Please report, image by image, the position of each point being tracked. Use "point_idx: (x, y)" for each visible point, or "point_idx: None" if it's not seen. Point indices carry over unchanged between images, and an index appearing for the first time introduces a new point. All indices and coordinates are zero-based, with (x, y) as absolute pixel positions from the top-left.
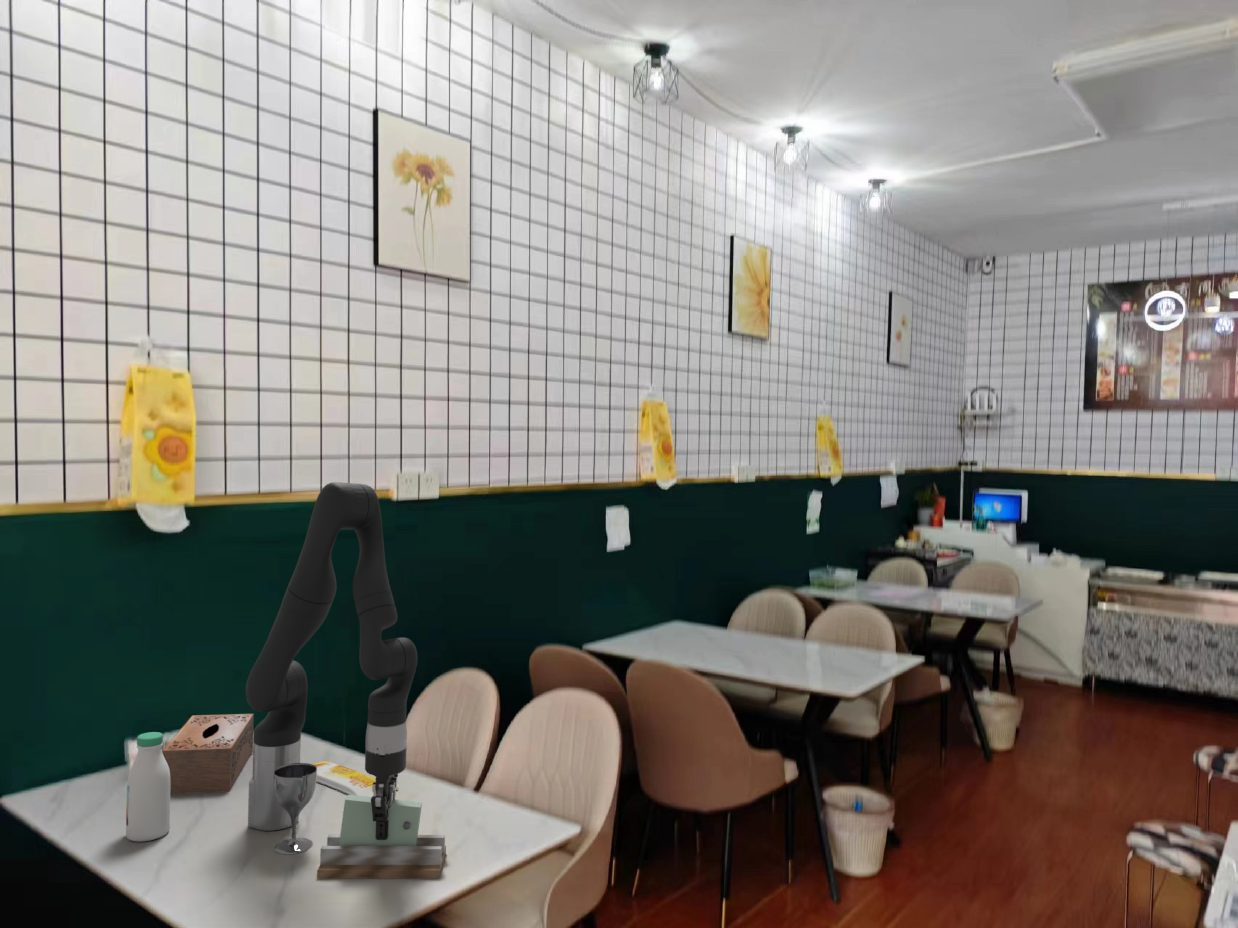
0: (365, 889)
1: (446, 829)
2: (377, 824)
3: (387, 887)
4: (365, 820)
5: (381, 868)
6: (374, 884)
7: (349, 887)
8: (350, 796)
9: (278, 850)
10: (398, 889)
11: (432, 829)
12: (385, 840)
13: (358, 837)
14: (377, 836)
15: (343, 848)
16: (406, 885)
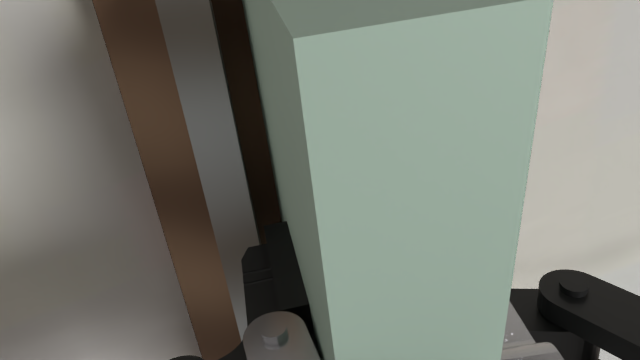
0: (32, 180)
1: (626, 281)
2: (247, 317)
3: (89, 263)
4: (291, 209)
5: (181, 219)
6: (97, 200)
7: (21, 94)
8: (466, 79)
9: None
10: (87, 310)
11: (635, 233)
12: None
13: (264, 99)
14: (243, 258)
15: (162, 4)
16: (132, 323)
